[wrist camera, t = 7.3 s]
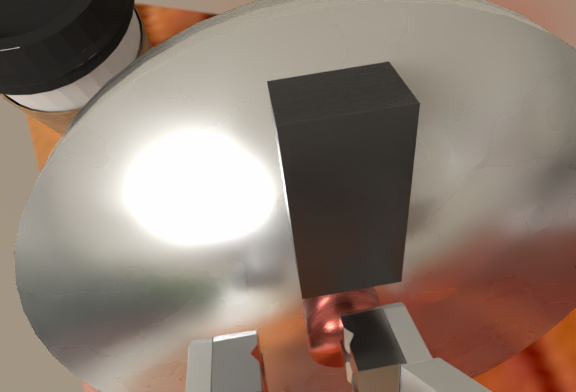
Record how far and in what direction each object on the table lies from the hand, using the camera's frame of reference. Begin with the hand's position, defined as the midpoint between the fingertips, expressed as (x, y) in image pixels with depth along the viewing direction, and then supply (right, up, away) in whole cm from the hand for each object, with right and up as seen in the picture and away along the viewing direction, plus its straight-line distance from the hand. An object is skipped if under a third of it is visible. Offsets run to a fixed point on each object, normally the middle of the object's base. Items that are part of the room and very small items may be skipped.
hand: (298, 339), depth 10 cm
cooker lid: (+1, +1, +2) cm, 3 cm away
